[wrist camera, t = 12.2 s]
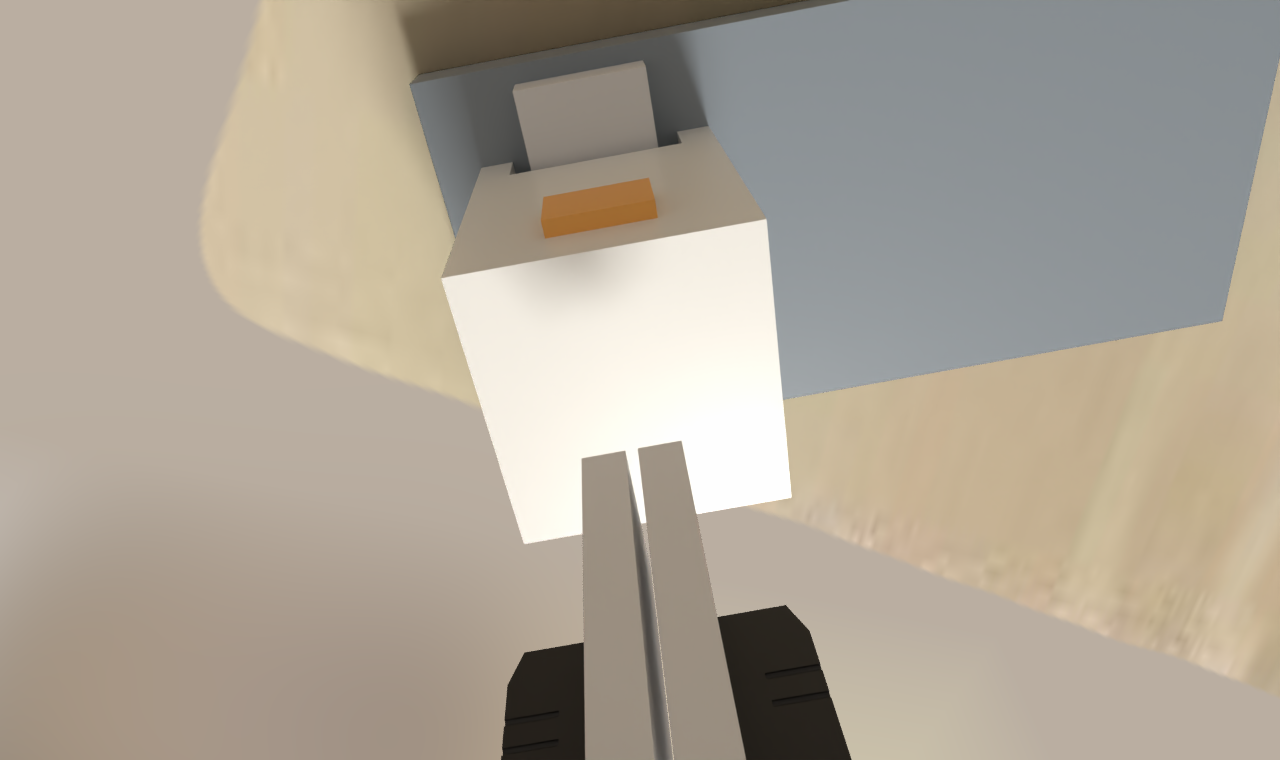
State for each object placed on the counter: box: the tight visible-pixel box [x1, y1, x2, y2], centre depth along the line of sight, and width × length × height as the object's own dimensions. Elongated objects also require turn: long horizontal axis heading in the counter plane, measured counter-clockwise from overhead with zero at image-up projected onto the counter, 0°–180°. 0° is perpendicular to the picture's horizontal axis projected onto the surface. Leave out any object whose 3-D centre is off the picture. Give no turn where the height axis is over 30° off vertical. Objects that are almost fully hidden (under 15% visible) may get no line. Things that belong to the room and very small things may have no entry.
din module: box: [441, 126, 791, 544], centre depth 21 cm, size 7×6×8 cm
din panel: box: [410, 0, 1280, 400], centre depth 25 cm, size 12×24×2 cm, turn 99°
